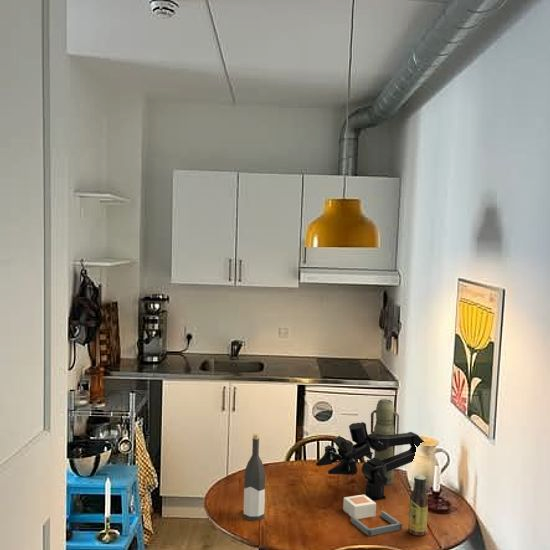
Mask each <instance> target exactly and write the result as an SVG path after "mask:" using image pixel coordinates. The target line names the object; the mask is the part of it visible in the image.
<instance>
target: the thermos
mask: <svg viewBox="0 0 550 550" xmlns="http://www.w3.org/2000/svg"><path fill="white" fill-rule="evenodd" d="M375 407H376V409H375V410H373V411H372V412H371V413H370V434H371V433H374V434H381V435H393V434H399V430H400V428H399V427H400V426H399V425H400V415H399V413H398V412H396V411H395V405H394V402H393V401H392V400H391V399H379V400H378V402H377V404H376V406H375ZM374 414H375V417H374ZM395 416H396V428H395ZM374 419H375V425H374ZM373 454H374V457H375V458H377V459H379V460H381V461H382V460H384V459H387V458H390V457H392V456H394V446H391V447H389V448H388V449H386V450H384V451H381V452H377V451H375V450H374V452H373ZM374 457H373V458H374ZM394 472H395V469H393V470H391V471H388V472H387V473H386V475H385V477H386V478H387V479H388V480H387V483H386V484H385V485H384V487H385V486H386V487H387V486H391V485H393V483H394V474H395V473H394Z"/></svg>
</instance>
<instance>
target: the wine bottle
mask: <svg viewBox="0 0 550 550" xmlns="http://www.w3.org/2000/svg"><path fill="white" fill-rule="evenodd" d="M259 436H260V435H259V434H258V433H254V434H253V436H252V451H251V452H252V454H251V456H250V459H249V460H248V462H247V465H246V466H245V471H244V481H243V486H244V487H243V489H244V490H243V519H245V520H248V521H252V522H253V521H254V520H258V521H260V520H262V519H264V518H265V504H266V503H265V502H266V501H265V499H266V498H265V497H266V494H265V493H266V472H265V466H264V463H263V461H262V459H261V457H260V455H259V453H260V452H259V451H260V450H259V449H260V437H259ZM263 517H264V518H263ZM261 518H262V519H261ZM259 519H260V520H259Z"/></svg>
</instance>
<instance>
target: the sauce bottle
mask: <svg viewBox="0 0 550 550" xmlns="http://www.w3.org/2000/svg"><path fill="white" fill-rule="evenodd" d="M413 477H414V478H413V480H414V482H413V483H414V484H413V489H412V492H411V495H410V496H409V504H408V505H409V506H408V532H409V533H410V534H412V535H414V536H425V535H426V532H427V529H428V528H427V526H428V525H427V523H428V511H429V510H428V509H429V508H428V507H429V505H428V503H429V502H428V501H429V496H428V494H427V492H426V483H427V476H425V475H422V474H416V475H414V476H413Z"/></svg>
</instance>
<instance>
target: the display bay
mask: <svg viewBox="0 0 550 550" xmlns="http://www.w3.org/2000/svg"><path fill="white" fill-rule="evenodd" d="M380 517H381V518H383V519H384V520H385V521H387V522H388V523H390V524H387V525H383V526H378V527H377V526H376V527H372V528H369V527H368V526H367V525H366V524H364V523H363V522H362V521H360V519H356V518H355V517H354V516H350V523H351V522H352V524H353V525H354V526H355V527H357V529H358V530H360V531H361V532H363V533H364V534H365V535H367V537H371V536H375V535H381V534H387V533H391V532H396V531H402V530H403V523H402V522H400V521H399V520H397V519H396V518H395V517H393V516H391V514H389V513H387V512H386V511H385V510H380Z"/></svg>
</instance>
